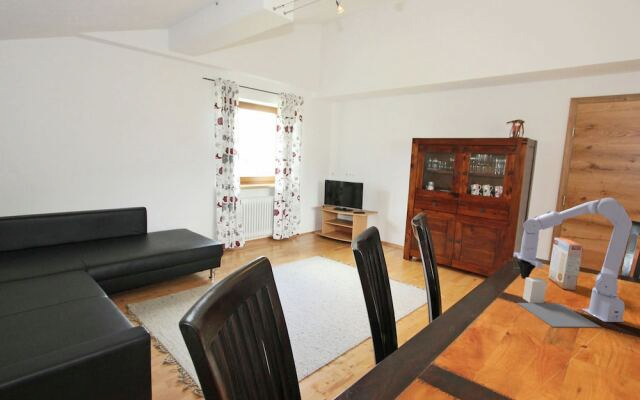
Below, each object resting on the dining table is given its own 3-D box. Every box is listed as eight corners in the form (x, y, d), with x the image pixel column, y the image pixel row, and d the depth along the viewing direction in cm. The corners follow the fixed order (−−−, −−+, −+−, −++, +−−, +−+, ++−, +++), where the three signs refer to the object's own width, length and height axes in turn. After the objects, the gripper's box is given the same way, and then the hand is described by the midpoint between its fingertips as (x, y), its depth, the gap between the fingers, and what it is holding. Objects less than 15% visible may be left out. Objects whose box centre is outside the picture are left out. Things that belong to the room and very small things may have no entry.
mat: (600, 327, 117) (600, 326, 117) (552, 327, 115) (552, 326, 115) (559, 304, 134) (559, 303, 134) (517, 303, 133) (517, 302, 133)
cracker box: (576, 291, 150) (584, 245, 147) (561, 289, 151) (569, 244, 148) (561, 279, 163) (567, 237, 160) (547, 278, 164) (553, 236, 161)
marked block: (543, 302, 135) (547, 281, 133) (529, 302, 134) (532, 281, 133) (536, 298, 139) (539, 277, 137) (522, 298, 138) (525, 277, 137)
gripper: (508, 242, 147) (504, 272, 149) (532, 252, 132) (527, 284, 134) (523, 242, 147) (519, 272, 149) (549, 252, 133) (544, 285, 135)
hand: (524, 278), depth 142 cm, fingers closed
